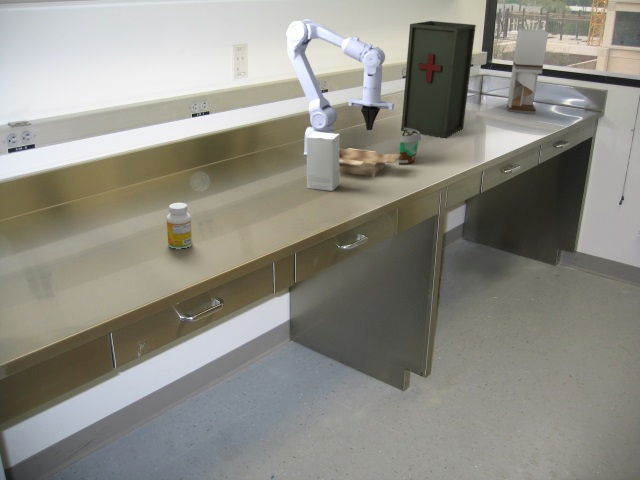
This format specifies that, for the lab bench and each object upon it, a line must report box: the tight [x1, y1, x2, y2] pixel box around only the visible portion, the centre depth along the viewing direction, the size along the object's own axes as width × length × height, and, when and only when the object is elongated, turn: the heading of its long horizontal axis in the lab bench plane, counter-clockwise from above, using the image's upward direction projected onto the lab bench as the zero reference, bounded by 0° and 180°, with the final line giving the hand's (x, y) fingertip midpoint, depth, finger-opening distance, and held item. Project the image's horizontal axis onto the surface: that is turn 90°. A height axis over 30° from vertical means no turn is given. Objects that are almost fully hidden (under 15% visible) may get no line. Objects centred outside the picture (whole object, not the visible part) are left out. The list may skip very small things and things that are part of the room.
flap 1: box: [339, 158, 365, 166], centre depth 200 cm, size 10×1×5 cm
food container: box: [398, 128, 422, 166], centre depth 216 cm, size 12×6×10 cm, turn 168°
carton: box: [339, 147, 386, 178], centre depth 210 cm, size 16×15×4 cm
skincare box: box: [306, 132, 341, 192], centre depth 188 cm, size 8×7×16 cm
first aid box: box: [400, 20, 477, 139], centre depth 251 cm, size 18×18×40 cm
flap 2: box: [378, 153, 401, 164], centre depth 204 cm, size 1×9×5 cm
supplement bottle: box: [166, 202, 193, 250], centre depth 148 cm, size 5×5×10 cm
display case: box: [506, 28, 550, 115], centre depth 291 cm, size 11×11×35 cm
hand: (369, 129), depth 213 cm, fingers closed
